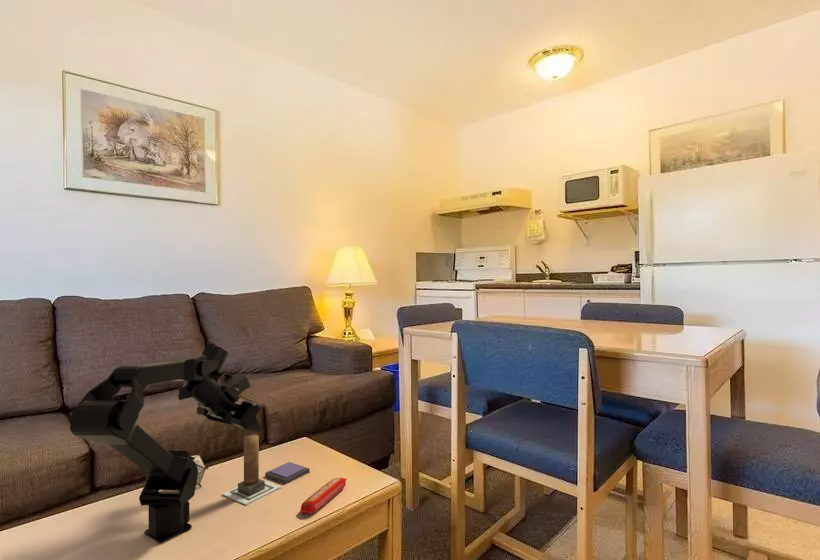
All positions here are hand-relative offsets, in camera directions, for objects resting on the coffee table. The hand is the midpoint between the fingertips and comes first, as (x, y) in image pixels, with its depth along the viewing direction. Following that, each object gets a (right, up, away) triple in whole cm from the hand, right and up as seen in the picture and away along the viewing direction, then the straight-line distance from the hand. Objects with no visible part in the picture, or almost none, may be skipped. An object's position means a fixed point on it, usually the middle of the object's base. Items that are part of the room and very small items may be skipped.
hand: (248, 427), depth 110 cm
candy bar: (+22, -14, -11) cm, 28 cm away
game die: (-13, -14, -4) cm, 19 cm away
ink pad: (+9, -14, +3) cm, 17 cm away
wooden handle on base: (+3, -13, -6) cm, 15 cm away
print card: (+3, -13, -6) cm, 15 cm away
